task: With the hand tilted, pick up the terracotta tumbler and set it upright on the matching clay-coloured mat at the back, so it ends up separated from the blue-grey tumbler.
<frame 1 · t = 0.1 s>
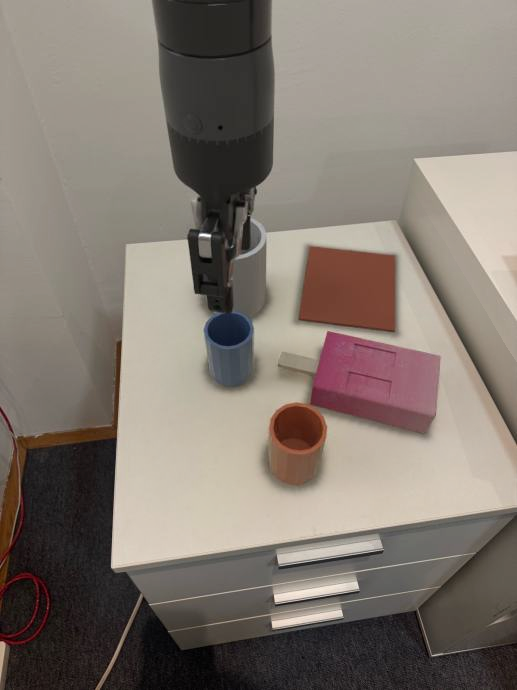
hand: (231, 276, 46), 22 cm above the table, tool pointing down, fingers open, 8 cm apart
cup: (235, 298, 75), on the table
blue tumbler: (231, 367, 67), on the table
clay mat: (348, 286, 76), on the table
terracotta tumbler: (293, 460, 58), on the table
popsicle: (351, 386, 65), on the table
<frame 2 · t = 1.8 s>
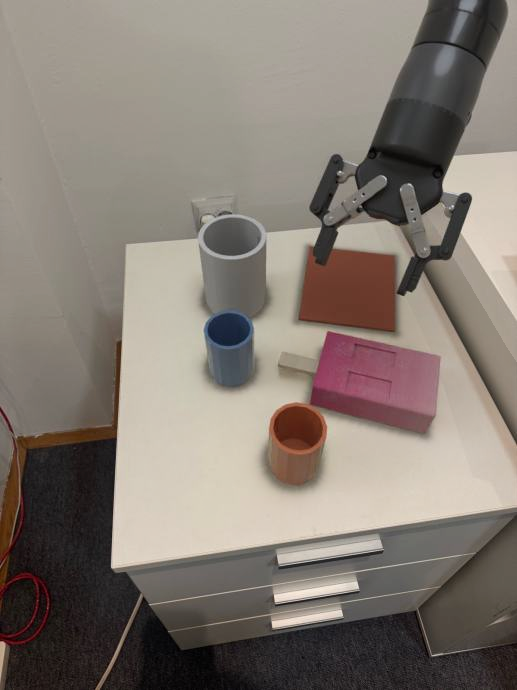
hand: (359, 279, 48), 21 cm above the table, tool tilted 45°, fingers open, 8 cm apart
nothing on the table moved.
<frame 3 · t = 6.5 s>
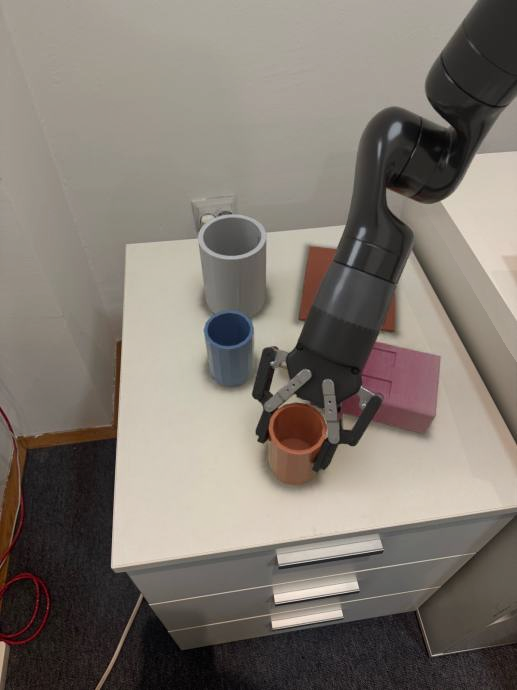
hand: (289, 454, 54), 5 cm above the table, tool tilted 45°, fingers closed on terracotta tumbler, 6 cm apart
terracotta tumbler: (293, 460, 58), on the table, touching gripper
everything else where it was.
when the fingers open (5 cm above the table, at t = 16.7 s): terracotta tumbler stays where it is, resting on clay mat.
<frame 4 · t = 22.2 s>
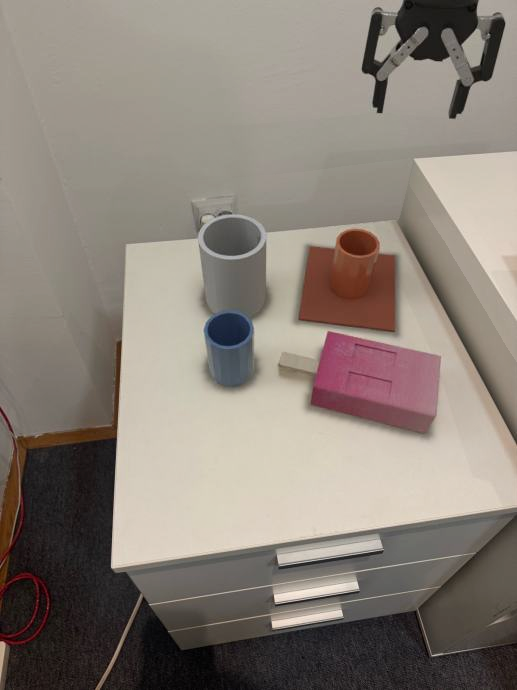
hand: (415, 113, 59), 25 cm above the table, tool pointing down, fingers open, 8 cm apart
terracotta tumbler: (349, 284, 75), resting on clay mat
everything else where it was.
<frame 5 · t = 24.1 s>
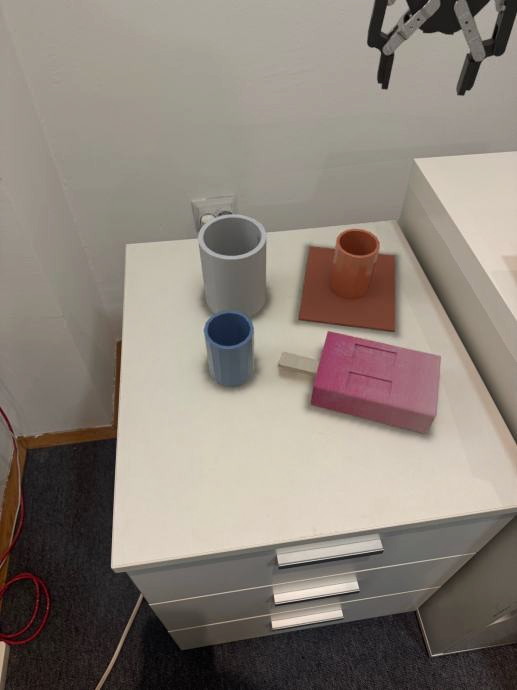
hand: (422, 89, 56), 28 cm above the table, tool pointing down, fingers open, 8 cm apart
nothing on the table moved.
at the end: terracotta tumbler inside the target area on the clay mat (0.1 cm from its centre), point 0.4 cm above the clay mat's base; terracotta tumbler tilted 0°; blue tumbler moved 0.0 cm from its start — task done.
